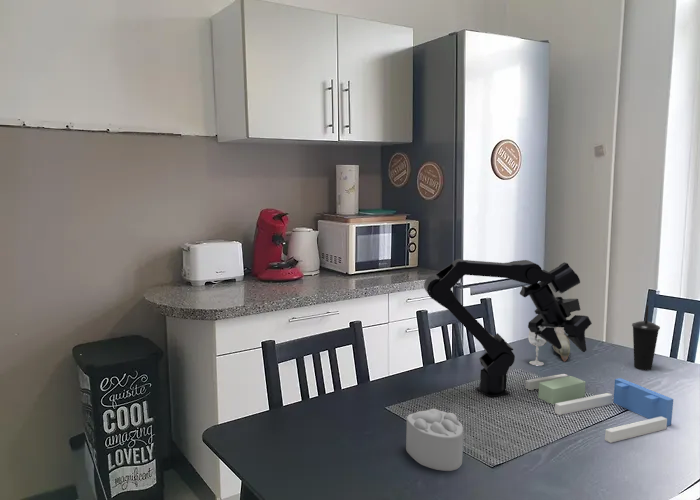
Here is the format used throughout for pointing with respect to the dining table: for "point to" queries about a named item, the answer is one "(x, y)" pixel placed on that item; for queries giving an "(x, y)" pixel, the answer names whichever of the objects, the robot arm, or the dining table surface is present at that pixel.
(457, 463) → the lumpy-topped squat cylinder
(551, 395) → the plug block
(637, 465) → the dining table surface
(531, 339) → the wineglass
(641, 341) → the drinking cup
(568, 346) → the decorative bird
